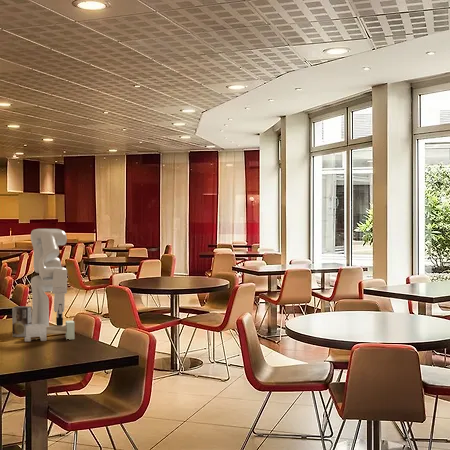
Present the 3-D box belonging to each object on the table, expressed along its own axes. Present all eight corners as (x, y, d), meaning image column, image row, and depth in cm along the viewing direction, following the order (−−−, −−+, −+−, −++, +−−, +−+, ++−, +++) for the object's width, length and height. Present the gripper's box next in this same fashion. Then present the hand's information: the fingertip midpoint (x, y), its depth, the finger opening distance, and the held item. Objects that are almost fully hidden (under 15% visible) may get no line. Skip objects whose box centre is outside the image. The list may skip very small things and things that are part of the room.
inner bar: (36, 333, 356) (36, 315, 356) (69, 332, 361) (69, 314, 361) (36, 334, 352) (37, 316, 352) (69, 333, 358) (69, 315, 358)
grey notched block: (24, 339, 356) (24, 324, 356) (45, 338, 359) (45, 323, 359) (24, 341, 348) (25, 326, 348) (46, 340, 352) (46, 325, 352)
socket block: (65, 337, 363) (65, 320, 363) (73, 337, 364) (73, 320, 364) (66, 339, 355) (66, 322, 355) (74, 339, 356) (74, 322, 356)
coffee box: (32, 335, 370) (32, 306, 370) (27, 337, 363) (27, 307, 364) (16, 334, 371) (16, 306, 371) (11, 336, 364) (11, 307, 364)
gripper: (51, 289, 365) (51, 323, 364) (53, 292, 349) (53, 327, 349) (65, 289, 367) (65, 322, 367) (68, 291, 352) (67, 326, 351)
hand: (59, 324), depth 358 cm, fingers closed on inner bar, 2 cm apart
